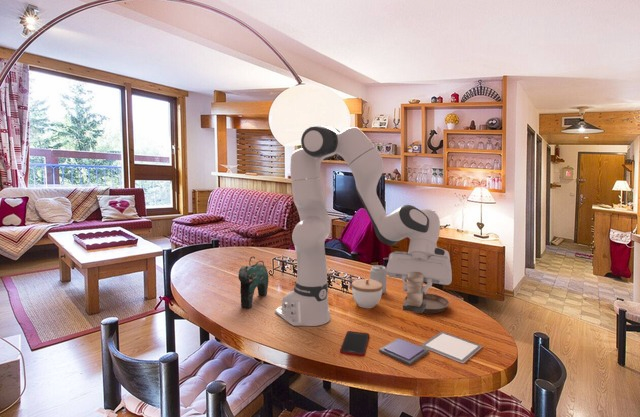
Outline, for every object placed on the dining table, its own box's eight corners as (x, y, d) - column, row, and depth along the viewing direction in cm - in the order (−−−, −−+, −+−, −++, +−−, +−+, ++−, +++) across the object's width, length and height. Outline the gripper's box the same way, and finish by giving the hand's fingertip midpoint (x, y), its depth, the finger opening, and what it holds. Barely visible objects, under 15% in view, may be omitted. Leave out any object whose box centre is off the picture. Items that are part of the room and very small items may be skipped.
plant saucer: (399, 310, 150) (399, 303, 150) (410, 296, 166) (410, 289, 166) (444, 319, 142) (445, 311, 142) (451, 304, 158) (452, 297, 157)
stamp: (402, 310, 114) (403, 275, 113) (406, 303, 119) (408, 270, 118) (422, 313, 112) (423, 278, 110) (426, 306, 117) (427, 272, 116)
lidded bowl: (360, 312, 147) (361, 285, 145) (346, 301, 158) (346, 276, 157) (387, 308, 152) (388, 282, 150) (371, 297, 163) (372, 273, 162)
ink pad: (379, 351, 117) (379, 347, 117) (398, 340, 125) (398, 336, 124) (409, 365, 109) (409, 361, 109) (428, 352, 117) (428, 348, 117)
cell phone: (369, 336, 128) (369, 333, 128) (364, 357, 114) (364, 354, 114) (347, 333, 130) (347, 330, 130) (339, 354, 116) (339, 351, 116)
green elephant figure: (248, 311, 147) (248, 262, 144) (234, 309, 149) (233, 260, 146) (271, 294, 165) (271, 250, 163) (258, 292, 167) (257, 249, 165)
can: (387, 295, 166) (388, 269, 165) (370, 294, 167) (371, 268, 165) (384, 289, 174) (385, 264, 172) (368, 289, 174) (369, 264, 172)
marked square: (420, 346, 120) (421, 344, 120) (441, 333, 130) (441, 331, 130) (463, 363, 111) (463, 361, 111) (481, 347, 120) (482, 345, 120)
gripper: (389, 245, 124) (380, 282, 116) (453, 252, 115) (448, 292, 108) (392, 255, 128) (383, 291, 121) (454, 262, 120) (449, 301, 112)
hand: (414, 292), depth 114 cm, fingers closed on stamp, 4 cm apart
